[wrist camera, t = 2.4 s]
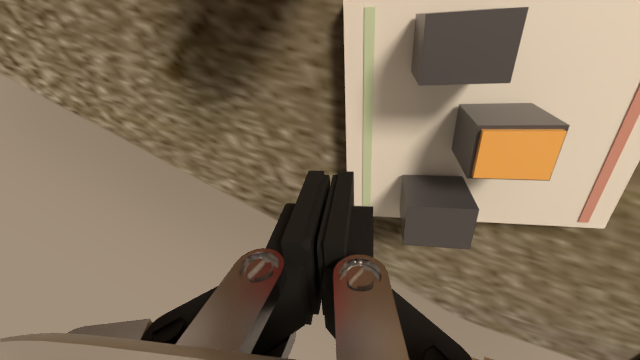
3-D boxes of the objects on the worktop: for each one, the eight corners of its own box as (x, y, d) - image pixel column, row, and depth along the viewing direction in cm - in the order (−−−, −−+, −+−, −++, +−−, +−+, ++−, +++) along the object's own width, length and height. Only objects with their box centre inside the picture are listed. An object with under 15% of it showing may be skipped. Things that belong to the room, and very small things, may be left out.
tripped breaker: (531, 102, 17) (573, 127, 14) (518, 150, 19) (552, 183, 15) (458, 104, 18) (479, 127, 14) (451, 149, 19) (468, 181, 16)
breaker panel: (698, -29, 15) (877, -53, 10) (587, 211, 22) (653, 275, 17) (346, 0, 18) (332, -6, 13) (349, 201, 26) (341, 251, 20)
